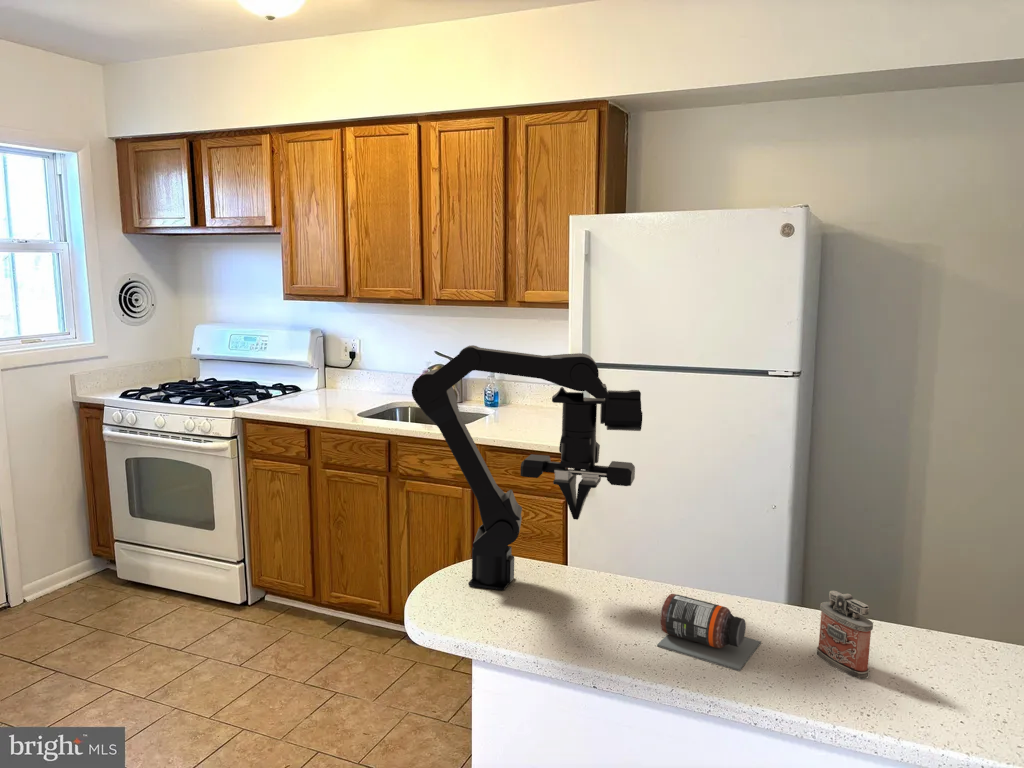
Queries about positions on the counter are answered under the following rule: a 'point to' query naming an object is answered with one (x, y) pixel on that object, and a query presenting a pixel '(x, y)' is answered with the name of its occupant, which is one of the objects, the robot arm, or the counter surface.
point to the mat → (713, 651)
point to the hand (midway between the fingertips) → (576, 518)
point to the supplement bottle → (701, 622)
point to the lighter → (845, 634)
